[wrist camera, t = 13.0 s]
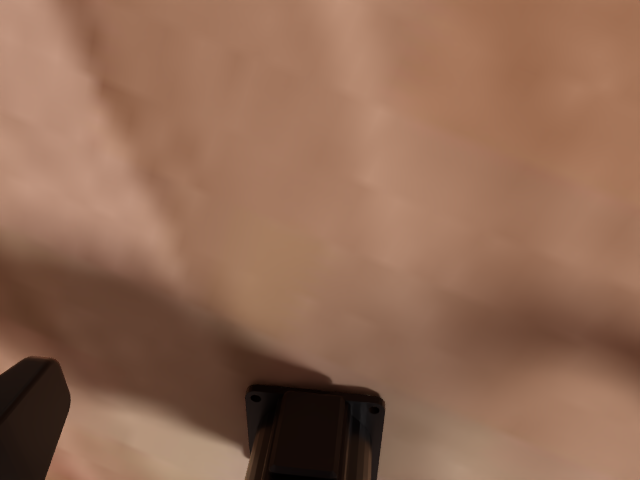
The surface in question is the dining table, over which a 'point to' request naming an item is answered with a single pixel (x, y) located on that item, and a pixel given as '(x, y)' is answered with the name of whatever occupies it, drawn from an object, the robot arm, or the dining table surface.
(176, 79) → the dining table surface
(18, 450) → the robot arm
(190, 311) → the dining table surface
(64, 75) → the dining table surface
